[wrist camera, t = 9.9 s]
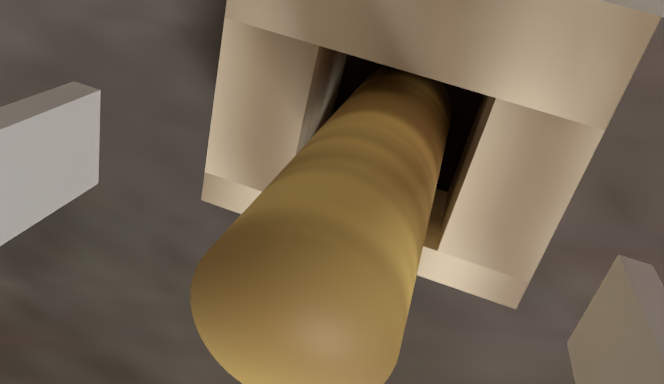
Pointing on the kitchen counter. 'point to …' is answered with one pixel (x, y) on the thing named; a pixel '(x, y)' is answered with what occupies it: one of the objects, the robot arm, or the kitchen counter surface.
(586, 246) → the kitchen counter surface
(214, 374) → the kitchen counter surface
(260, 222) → the peg
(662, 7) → the awning
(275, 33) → the socket block
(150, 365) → the kitchen counter surface
